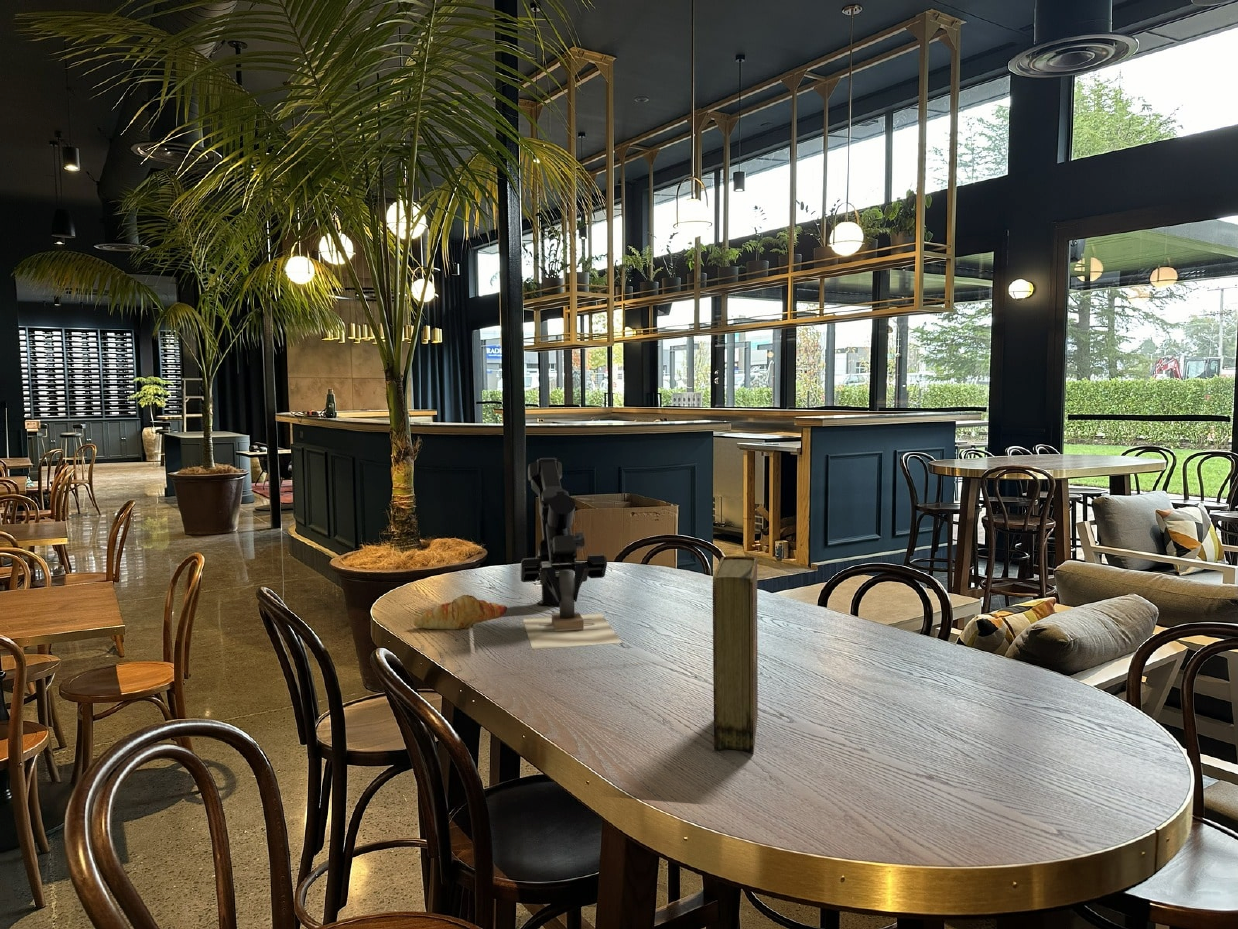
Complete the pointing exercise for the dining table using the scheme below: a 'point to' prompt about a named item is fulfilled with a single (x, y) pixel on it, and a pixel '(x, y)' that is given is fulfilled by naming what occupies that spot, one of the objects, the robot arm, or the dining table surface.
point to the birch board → (570, 633)
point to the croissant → (460, 614)
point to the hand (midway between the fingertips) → (567, 601)
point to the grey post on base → (567, 605)
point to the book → (735, 653)
